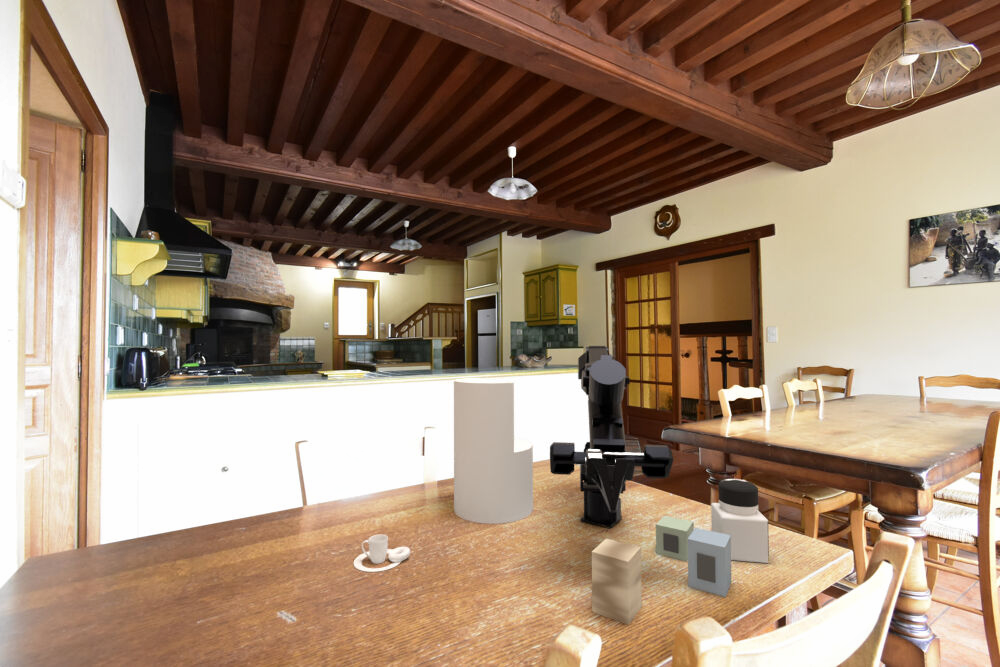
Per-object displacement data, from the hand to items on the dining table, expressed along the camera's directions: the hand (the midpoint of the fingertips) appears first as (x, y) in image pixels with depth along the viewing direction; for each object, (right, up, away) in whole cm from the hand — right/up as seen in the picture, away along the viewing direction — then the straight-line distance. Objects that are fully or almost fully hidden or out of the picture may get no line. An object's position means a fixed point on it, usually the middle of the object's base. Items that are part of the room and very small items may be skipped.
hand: (613, 511), depth 67 cm
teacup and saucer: (-35, -12, +6) cm, 38 cm away
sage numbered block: (+14, -12, +12) cm, 21 cm away
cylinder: (-18, -12, +33) cm, 39 cm away
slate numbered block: (+15, -11, +1) cm, 19 cm away
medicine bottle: (+24, -12, +11) cm, 29 cm away
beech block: (-1, -11, -5) cm, 12 cm away
